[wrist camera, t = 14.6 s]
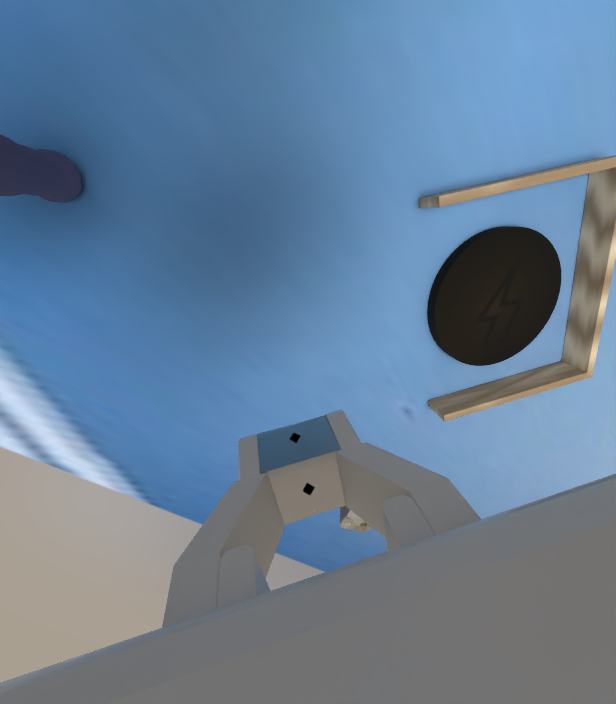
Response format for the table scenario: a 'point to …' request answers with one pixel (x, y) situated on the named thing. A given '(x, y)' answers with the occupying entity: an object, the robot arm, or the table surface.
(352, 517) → the mineral specimen
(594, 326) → the box
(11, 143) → the rubber mallet
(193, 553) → the robot arm
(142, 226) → the table surface
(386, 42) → the table surface
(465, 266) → the wireless charger
